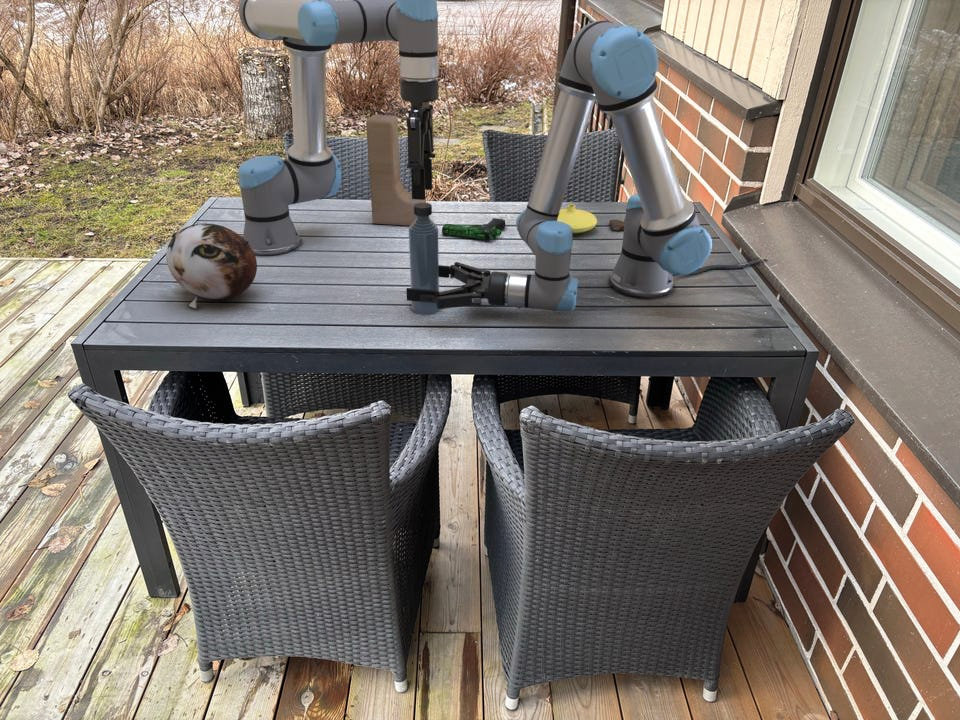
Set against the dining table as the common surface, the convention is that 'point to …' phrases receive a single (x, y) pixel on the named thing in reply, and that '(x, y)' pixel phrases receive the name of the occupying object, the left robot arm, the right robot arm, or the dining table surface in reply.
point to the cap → (422, 209)
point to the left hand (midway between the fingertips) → (422, 193)
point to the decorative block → (387, 174)
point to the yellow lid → (577, 219)
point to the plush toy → (211, 261)
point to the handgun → (476, 230)
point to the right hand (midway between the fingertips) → (414, 281)
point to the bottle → (424, 260)
